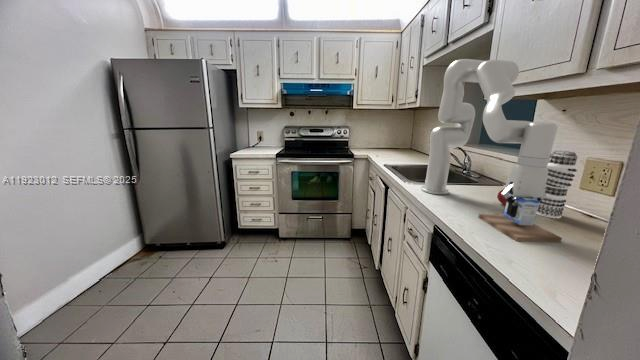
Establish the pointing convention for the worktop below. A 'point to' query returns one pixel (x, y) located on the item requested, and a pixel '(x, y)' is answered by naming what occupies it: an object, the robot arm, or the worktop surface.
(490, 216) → the cutting board
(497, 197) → the red oval piece
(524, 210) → the medicine box
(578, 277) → the worktop surface
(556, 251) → the worktop surface
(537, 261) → the worktop surface
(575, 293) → the worktop surface
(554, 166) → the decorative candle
